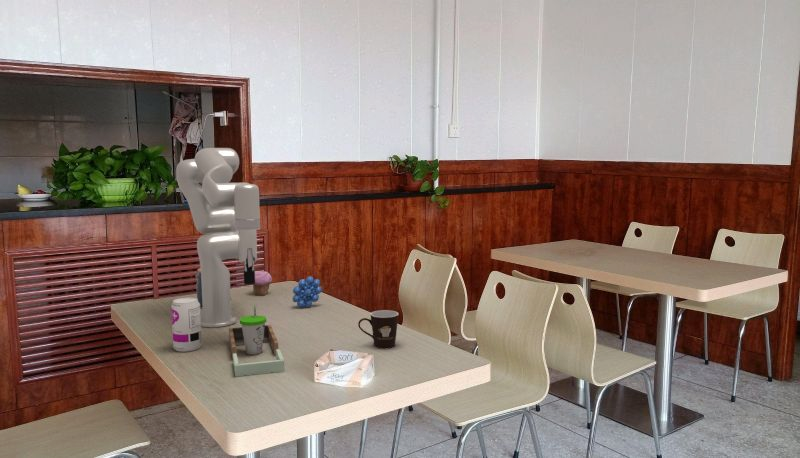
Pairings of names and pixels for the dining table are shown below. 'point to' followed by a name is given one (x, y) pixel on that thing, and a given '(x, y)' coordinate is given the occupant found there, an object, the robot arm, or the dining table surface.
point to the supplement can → (186, 324)
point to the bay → (259, 366)
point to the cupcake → (261, 282)
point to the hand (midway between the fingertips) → (249, 283)
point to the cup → (253, 332)
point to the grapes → (307, 292)
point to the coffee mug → (383, 328)
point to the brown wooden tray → (238, 338)
